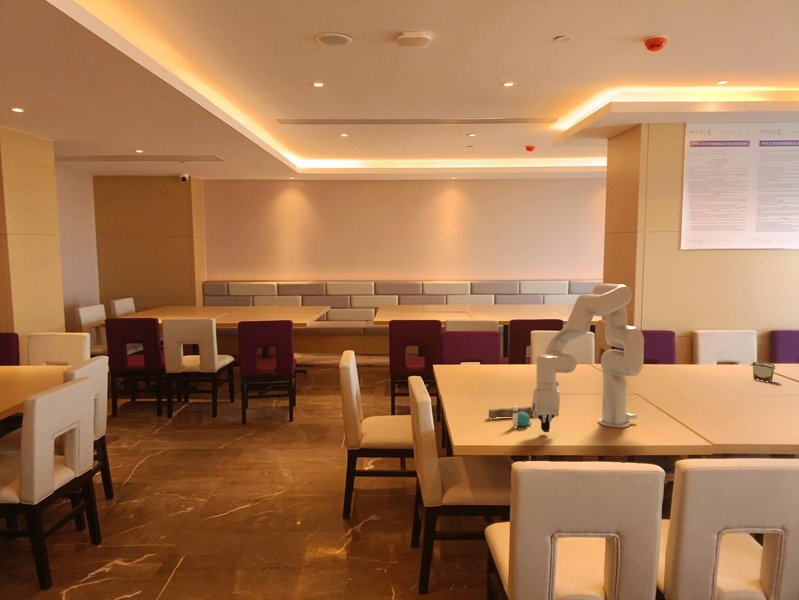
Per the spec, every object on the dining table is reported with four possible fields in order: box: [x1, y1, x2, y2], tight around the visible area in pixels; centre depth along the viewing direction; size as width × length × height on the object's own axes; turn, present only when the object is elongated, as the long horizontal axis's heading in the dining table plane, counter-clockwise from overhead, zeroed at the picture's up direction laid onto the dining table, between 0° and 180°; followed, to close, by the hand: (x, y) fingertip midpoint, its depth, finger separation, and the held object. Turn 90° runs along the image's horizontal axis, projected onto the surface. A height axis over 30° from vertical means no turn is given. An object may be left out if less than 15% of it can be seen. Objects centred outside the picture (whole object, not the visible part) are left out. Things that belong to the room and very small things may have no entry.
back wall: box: [488, 406, 533, 418], centre depth 242 cm, size 24×2×4 cm, turn 102°
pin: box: [512, 405, 519, 428], centre depth 226 cm, size 2×2×9 cm
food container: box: [751, 361, 776, 383], centre depth 308 cm, size 12×6×10 cm, turn 22°
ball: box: [518, 412, 530, 427], centre depth 229 cm, size 6×6×6 cm
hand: (545, 431), depth 218 cm, fingers closed
